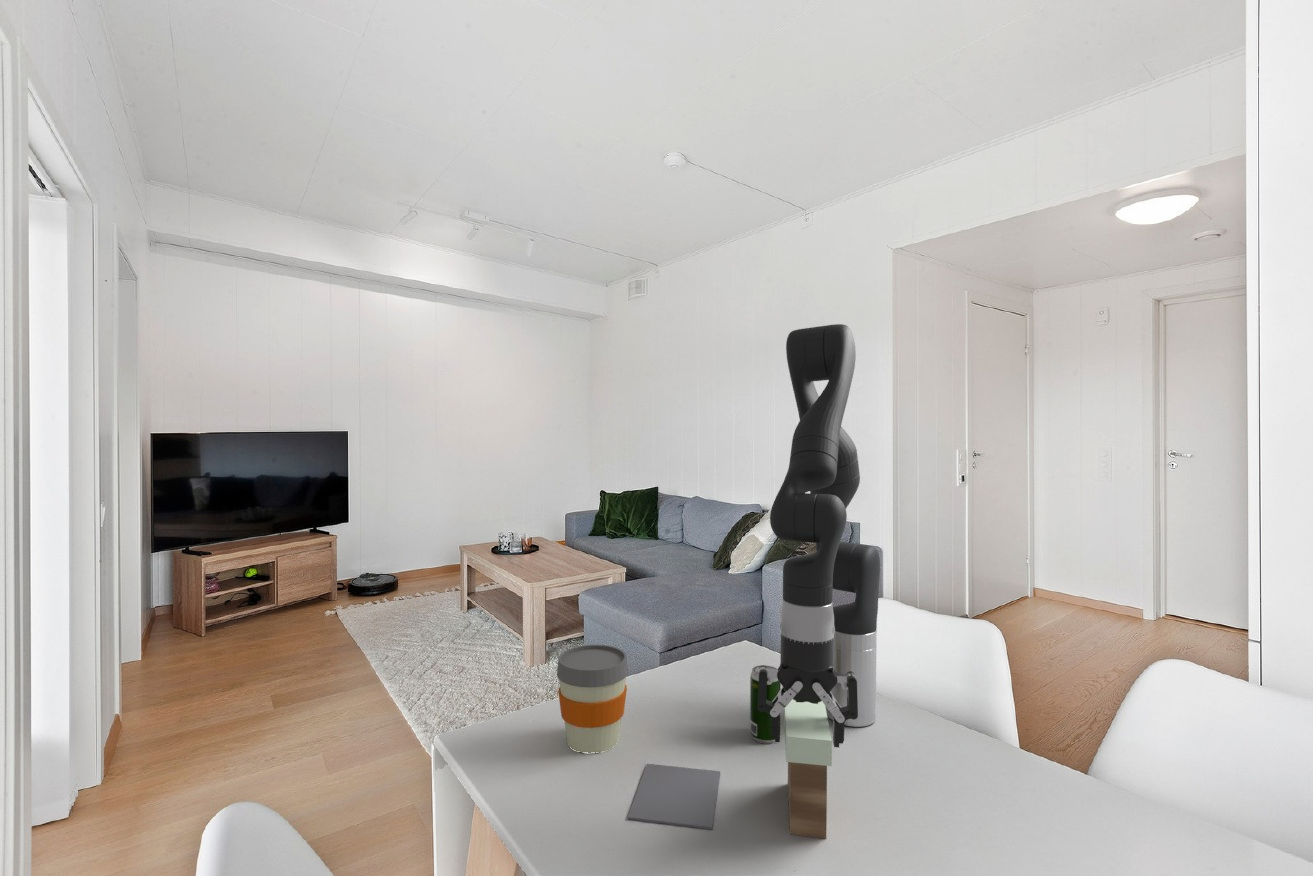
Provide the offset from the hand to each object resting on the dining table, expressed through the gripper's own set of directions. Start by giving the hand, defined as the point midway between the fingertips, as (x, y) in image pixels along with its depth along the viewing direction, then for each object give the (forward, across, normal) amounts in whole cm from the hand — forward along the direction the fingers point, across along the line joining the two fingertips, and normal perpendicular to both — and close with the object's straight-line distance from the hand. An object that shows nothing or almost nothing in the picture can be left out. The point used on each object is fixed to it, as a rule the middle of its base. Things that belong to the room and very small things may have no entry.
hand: (806, 742), depth 90 cm
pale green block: (0, 0, 0) cm, 0 cm away
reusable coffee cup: (+10, +36, -13) cm, 40 cm away
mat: (+10, +19, 0) cm, 21 cm away
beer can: (+10, +6, -20) cm, 23 cm away
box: (+10, 0, 0) cm, 10 cm away
